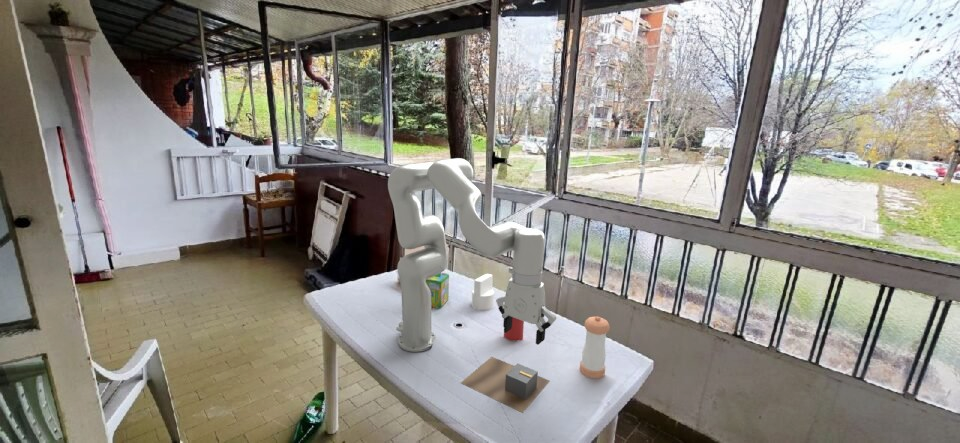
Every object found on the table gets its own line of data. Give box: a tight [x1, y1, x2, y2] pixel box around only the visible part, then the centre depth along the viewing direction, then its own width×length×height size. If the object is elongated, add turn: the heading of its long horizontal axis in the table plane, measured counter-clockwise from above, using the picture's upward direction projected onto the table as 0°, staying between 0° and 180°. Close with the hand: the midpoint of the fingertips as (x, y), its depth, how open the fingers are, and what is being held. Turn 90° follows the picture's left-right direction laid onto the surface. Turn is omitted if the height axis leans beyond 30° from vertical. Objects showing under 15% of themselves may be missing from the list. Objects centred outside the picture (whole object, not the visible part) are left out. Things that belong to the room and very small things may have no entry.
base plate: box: [460, 356, 551, 414], centre depth 116 cm, size 20×16×2 cm
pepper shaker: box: [579, 316, 611, 379], centre depth 120 cm, size 7×7×19 cm
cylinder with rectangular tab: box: [471, 273, 496, 311], centre depth 164 cm, size 9×9×12 cm
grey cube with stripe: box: [505, 363, 539, 400], centre depth 113 cm, size 6×6×5 cm
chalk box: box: [426, 272, 450, 309], centre depth 165 cm, size 9×9×15 cm
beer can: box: [503, 317, 525, 342], centre depth 139 cm, size 7×7×12 cm
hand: (523, 336), depth 109 cm, fingers open, 9 cm apart
